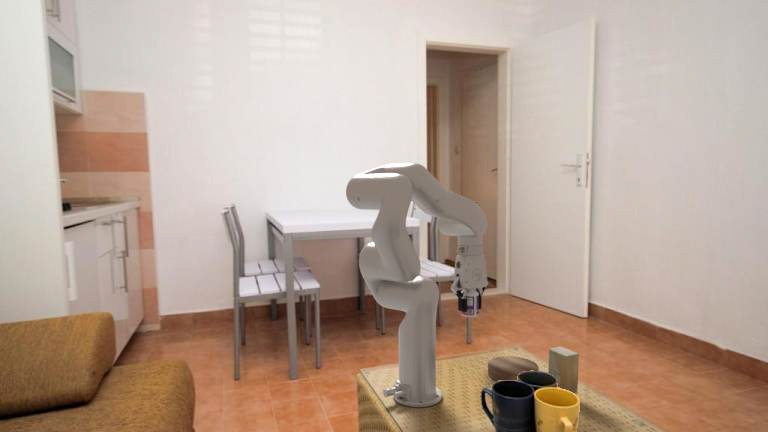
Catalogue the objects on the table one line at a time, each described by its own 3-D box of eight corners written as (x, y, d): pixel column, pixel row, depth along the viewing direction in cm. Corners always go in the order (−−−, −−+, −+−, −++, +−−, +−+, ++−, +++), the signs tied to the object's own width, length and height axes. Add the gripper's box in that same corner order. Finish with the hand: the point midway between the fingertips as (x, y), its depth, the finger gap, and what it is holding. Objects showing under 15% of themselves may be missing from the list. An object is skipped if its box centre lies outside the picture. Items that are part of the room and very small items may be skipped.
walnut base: (516, 389, 124) (516, 378, 124) (477, 373, 136) (477, 362, 136) (548, 377, 132) (548, 366, 132) (510, 362, 144) (510, 353, 144)
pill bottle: (470, 312, 147) (470, 281, 146) (482, 316, 142) (482, 284, 142) (457, 314, 144) (457, 283, 144) (468, 318, 139) (468, 286, 139)
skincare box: (547, 394, 122) (547, 348, 121) (559, 390, 123) (559, 345, 123) (566, 404, 116) (566, 355, 115) (578, 400, 118) (579, 353, 117)
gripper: (457, 254, 134) (457, 316, 135) (498, 250, 144) (498, 308, 145) (440, 251, 140) (440, 311, 141) (480, 247, 150) (480, 303, 151)
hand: (469, 309), depth 143 cm, fingers closed on pill bottle, 5 cm apart
